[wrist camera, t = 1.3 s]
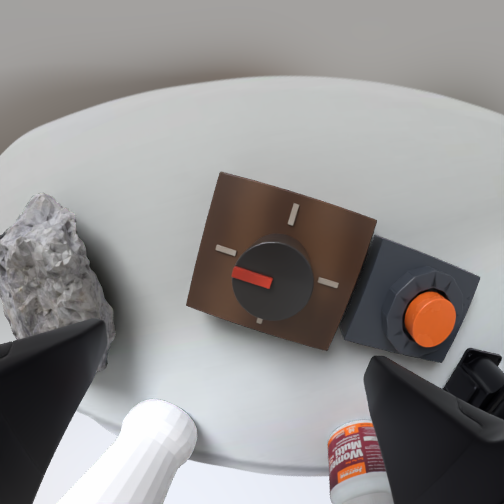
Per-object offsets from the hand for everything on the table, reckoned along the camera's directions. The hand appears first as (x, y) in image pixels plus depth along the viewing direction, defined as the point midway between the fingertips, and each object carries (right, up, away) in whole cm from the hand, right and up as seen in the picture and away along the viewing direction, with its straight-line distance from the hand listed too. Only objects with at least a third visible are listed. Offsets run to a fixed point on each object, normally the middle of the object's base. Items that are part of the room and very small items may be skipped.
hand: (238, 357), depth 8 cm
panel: (+3, +3, +13) cm, 14 cm away
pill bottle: (+11, -16, +16) cm, 25 cm away
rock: (-19, 0, +17) cm, 26 cm away
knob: (+2, +2, +10) cm, 11 cm away
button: (+13, -1, +9) cm, 16 cm away
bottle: (-9, -16, +19) cm, 26 cm away
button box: (+13, -1, +12) cm, 18 cm away
